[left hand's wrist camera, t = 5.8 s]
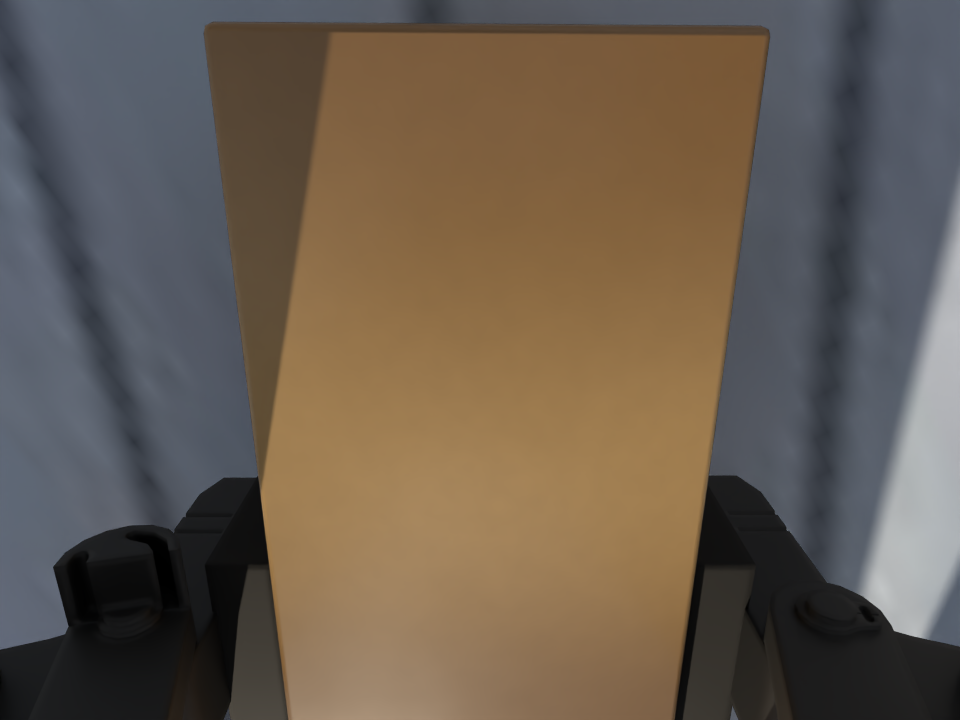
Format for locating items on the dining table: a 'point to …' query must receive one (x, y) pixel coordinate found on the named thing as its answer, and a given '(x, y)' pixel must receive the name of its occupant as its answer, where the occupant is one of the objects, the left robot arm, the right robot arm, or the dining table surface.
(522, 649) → the bar
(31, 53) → the dining table surface
